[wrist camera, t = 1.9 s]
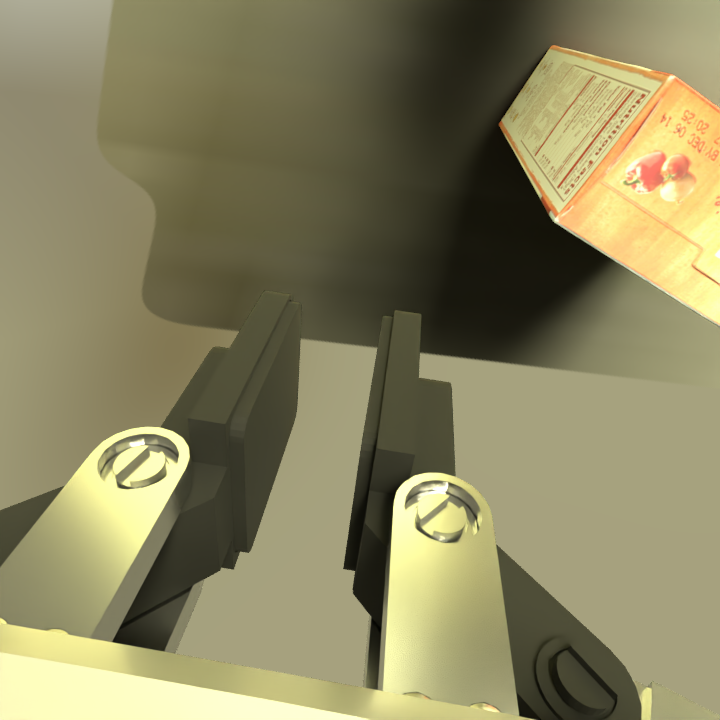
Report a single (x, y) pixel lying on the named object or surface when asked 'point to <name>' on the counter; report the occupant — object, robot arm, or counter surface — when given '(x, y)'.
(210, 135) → the counter surface
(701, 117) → the cracker box
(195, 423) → the robot arm
